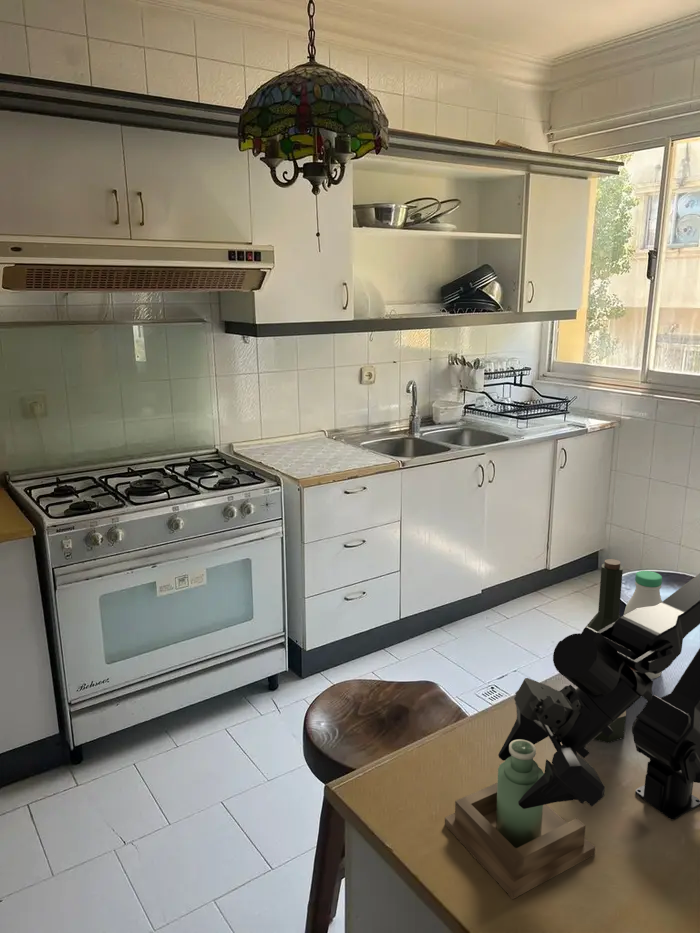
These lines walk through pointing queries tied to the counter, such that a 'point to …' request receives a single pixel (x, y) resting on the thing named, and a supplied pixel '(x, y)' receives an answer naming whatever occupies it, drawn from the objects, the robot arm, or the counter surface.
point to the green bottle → (518, 795)
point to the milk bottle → (646, 596)
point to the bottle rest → (525, 863)
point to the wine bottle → (607, 616)
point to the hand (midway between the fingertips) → (510, 780)
